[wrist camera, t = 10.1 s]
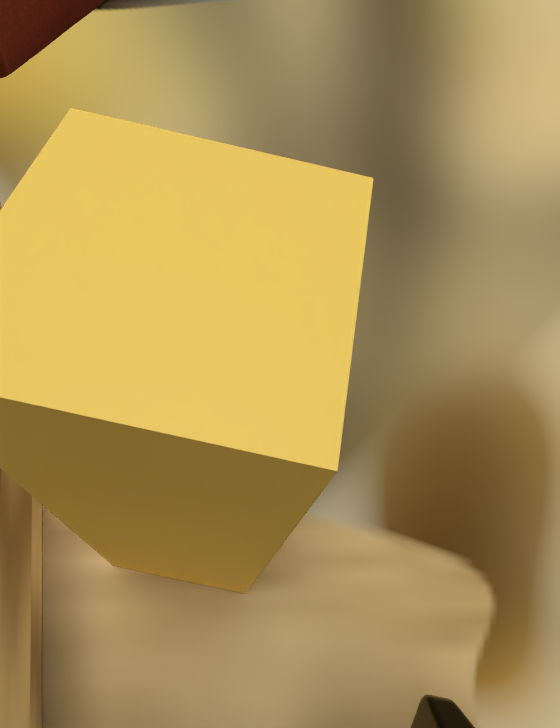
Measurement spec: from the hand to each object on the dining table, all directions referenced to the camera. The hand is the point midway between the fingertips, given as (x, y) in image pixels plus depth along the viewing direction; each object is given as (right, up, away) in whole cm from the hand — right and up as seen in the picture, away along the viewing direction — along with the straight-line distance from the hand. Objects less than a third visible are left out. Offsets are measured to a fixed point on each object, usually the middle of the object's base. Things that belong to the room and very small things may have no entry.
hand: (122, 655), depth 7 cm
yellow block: (0, 0, +8) cm, 8 cm away
